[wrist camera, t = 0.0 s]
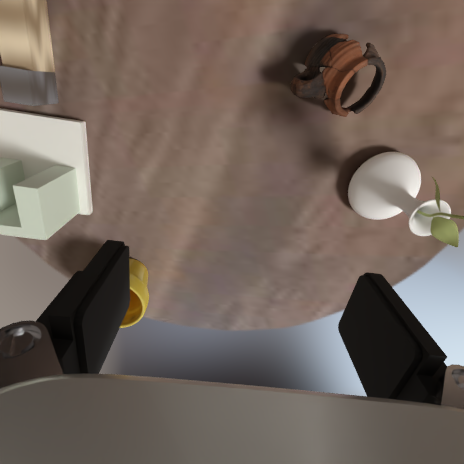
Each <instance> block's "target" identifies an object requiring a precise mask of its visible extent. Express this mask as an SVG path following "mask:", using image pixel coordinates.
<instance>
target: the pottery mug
mask: <svg viewBox="0 0 464 464" xmlns="http://www.w3.org/2000/svg"><path fill="white" fill-rule="evenodd" d="M346 39H348V35H347V34H332V35H329V36H327V37H325V38H323V39H321V40H320V41H319V42H318V43H317V44H316V45H315V46H314V47H313V48H312V50H311V51H310V53H309V55H308V57H307V59H306V62H305V66H306V67H307V69H305V71H304V72H302V73H301V74H298V75H296V76H295V77H294V78H293V80H292V82H291V91H292V92H293V93H294V94H295V95H296V96H298V97H303V98H305V97H314V98H315V99H318V98H319V99H321V98H323V97H324V95H325V93H326V94H327V95H328V98H326V99H325V100H324V102H325V104H326V106H327V107H328V109H329V110H330V111H331V112H332V114H336V115H340V116H344V117H346V116H347V115H348V112H350V111H353V112H354V113H356V114H358V113H360V112H361V111H363V110H364V109H365V108H366V107H368V106H369V105H370V104H371V102H372V101H373V100H374V99H375V97H376V95H377V94H378V93H379V91H380V90H381V88H382V85H383V83H384V80H385V76H386V70H385V69H386V68H385V65H384V62H383V61H382V60H381V58H380V57H379V55H378V52H377V51H376V49H375V47H374V45H372V44H371V43H367V44H366V46H367V50H366V52H365V54H364V55H362V50H361V47H360V44H359V42H357V41H355V40H349V41H346ZM367 65H374V66H376V74H375V77H374V79H373V81H372V84H371V87H369V88H368V90H367V91H366V93H365V94H364V95H363V96H362V98H361V99H360V100H359V101H357V102H356V103H354V104H353V105H351V106H349V107H347V108H343V107H341V105H340V96H341V93H342V91H343V89H344V87H345V85H346V83H347V82H348V80H349V79H350V78H351V77H352V76H353V74H354V73H355V72H357V71H358V70H359V69H361V68H363V67H365V66H367ZM320 67H326V68H325V69H324V70H323V71H322V73H321V72H320V70H319V68H320Z"/></svg>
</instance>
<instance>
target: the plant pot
mask: <svg viewBox="0 0 464 464" xmlns="http://www.w3.org/2000/svg"><path fill="white" fill-rule="evenodd" d="M129 269H130V304H129V308H128V310H127V312H126V315H125V317H124V319H123V321H122V323H121V326H120V328H124V327H128V326H131V325H134V324H135V323H137V322H138V321H139V320H140V319H141V318H142V317H143V315H144V313H145V310H146V307H147V304H148V301H149V293H148V290H147V280H148V272H147V269H146V267H145V266H144V265H143V264H142V263H141V262H140V261H138V260H135V259H129Z"/></svg>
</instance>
